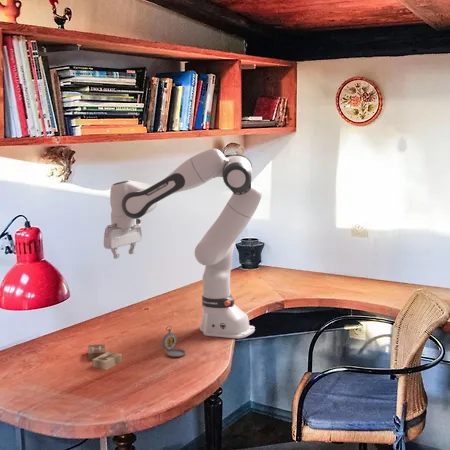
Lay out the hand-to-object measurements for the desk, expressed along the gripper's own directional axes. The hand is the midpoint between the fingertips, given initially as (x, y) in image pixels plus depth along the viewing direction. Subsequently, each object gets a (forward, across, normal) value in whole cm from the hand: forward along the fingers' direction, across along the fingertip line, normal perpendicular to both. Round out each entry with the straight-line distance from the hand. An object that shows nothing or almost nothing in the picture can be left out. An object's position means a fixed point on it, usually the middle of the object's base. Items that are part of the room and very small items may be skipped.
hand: (124, 256), depth 248 cm
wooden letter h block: (+30, -24, -5) cm, 39 cm away
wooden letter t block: (+30, -28, -17) cm, 44 cm away
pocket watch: (+31, -13, -32) cm, 47 cm away
